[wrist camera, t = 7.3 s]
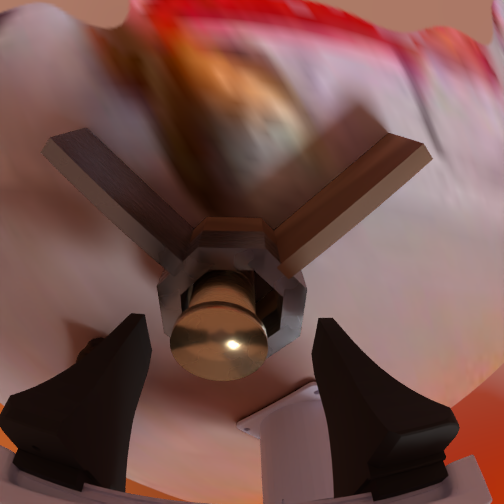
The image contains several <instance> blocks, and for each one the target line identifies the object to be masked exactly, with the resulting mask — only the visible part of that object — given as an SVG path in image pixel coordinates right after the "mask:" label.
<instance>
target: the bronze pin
mask: <svg viewBox="0 0 504 504" xmlns="http://www.w3.org/2000/svg"><path fill="white" fill-rule="evenodd" d="M170 348H171V352H172V354H173V356H174V358H175V359H176V361H177V362H178V363H179V364H180V365H181V366H182V367H183V368H184V369H185V370H187V371H188V372H190V373H192V374H194V375H196V376H198V377H201V378H204V379H208V380H214V381H231V380H236V379H240V378H243V377H246V376H248V375H250V374H252V373H253V372H255V371H256V370H257V369H258V368H259V367H261V365H262V364H263V363H264V361H265V359H266V357H267V353H268V341H267V333H266V329H265V327H264V325H263V323H262V321H261V320H260V319H259V318H258V317H257V316H256V307H255V287H254V270H208V271H207V272H206V273H204V274H203V275H202V276H201V277H200V278H199V279H198V280H196V281H195V282H194V286H193V290H192V294H191V298H190V302H189V307H188V309H186V310H185V311H184V312H182V313H181V314H180V316H179V317H178V318H177V320H176V321H175V324H174V327H173V330H172V334H171V338H170Z"/></svg>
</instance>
